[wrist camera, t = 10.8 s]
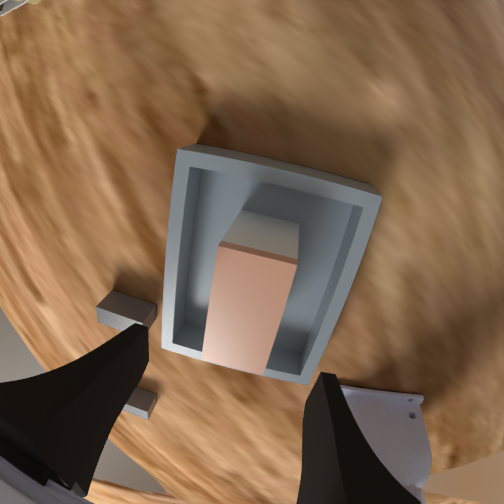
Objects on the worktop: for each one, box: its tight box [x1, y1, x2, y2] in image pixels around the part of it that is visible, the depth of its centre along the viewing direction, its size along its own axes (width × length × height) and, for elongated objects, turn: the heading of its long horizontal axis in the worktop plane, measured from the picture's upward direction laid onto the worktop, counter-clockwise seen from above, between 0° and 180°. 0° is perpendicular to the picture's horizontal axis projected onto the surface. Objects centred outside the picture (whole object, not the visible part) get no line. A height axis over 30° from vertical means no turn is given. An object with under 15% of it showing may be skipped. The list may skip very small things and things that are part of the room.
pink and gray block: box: [201, 210, 299, 375], centre depth 17 cm, size 4×7×6 cm, turn 169°
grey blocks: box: [96, 290, 157, 420], centre depth 25 cm, size 4×13×2 cm, turn 169°
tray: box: [162, 144, 382, 385], centre depth 19 cm, size 11×14×3 cm
